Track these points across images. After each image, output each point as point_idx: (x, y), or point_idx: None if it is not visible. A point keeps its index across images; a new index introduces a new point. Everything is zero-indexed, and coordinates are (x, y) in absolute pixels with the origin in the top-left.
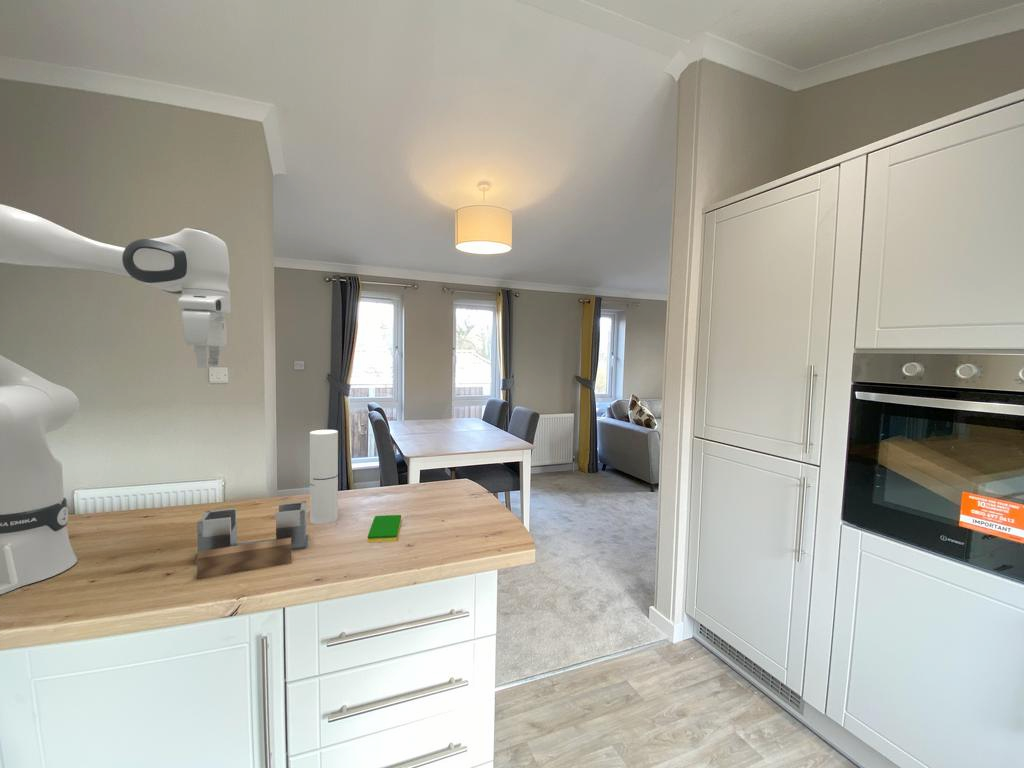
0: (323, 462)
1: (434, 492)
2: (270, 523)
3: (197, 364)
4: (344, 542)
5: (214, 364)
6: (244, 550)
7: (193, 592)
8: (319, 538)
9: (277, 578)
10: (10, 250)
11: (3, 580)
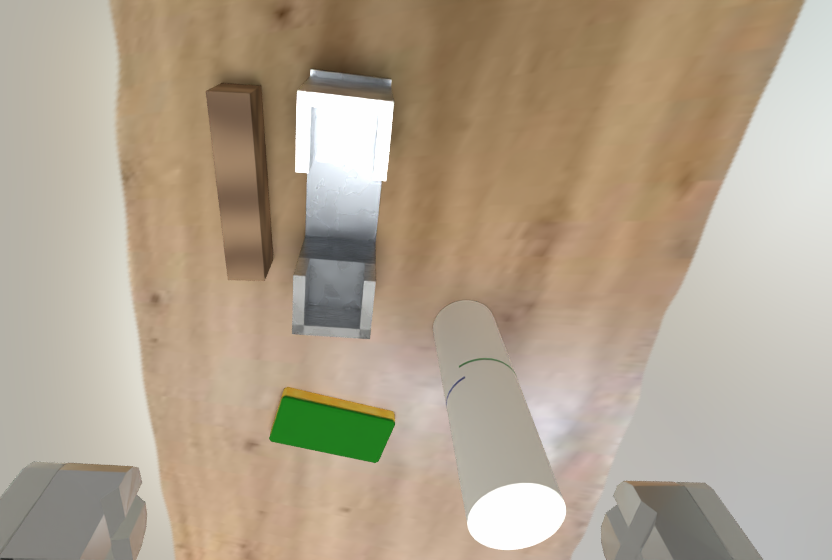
0: (453, 435)
1: None
2: (504, 218)
3: (15, 485)
4: (311, 352)
5: (610, 531)
6: (221, 190)
7: (167, 82)
8: None
9: (182, 234)
10: None
11: None
